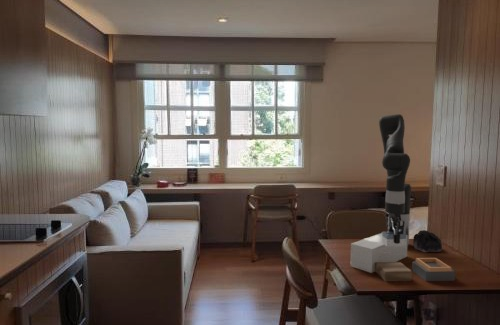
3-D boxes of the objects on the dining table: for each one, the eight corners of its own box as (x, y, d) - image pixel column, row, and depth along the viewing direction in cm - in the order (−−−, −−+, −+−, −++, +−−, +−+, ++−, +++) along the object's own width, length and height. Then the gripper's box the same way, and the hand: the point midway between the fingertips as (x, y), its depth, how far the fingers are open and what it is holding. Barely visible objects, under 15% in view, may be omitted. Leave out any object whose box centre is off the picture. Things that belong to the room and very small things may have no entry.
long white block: (371, 273, 161) (372, 249, 160) (350, 266, 169) (350, 243, 168) (407, 257, 182) (407, 235, 181) (386, 251, 190) (387, 231, 189)
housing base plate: (382, 242, 158) (382, 235, 158) (400, 242, 159) (400, 235, 158) (386, 246, 153) (387, 239, 153) (406, 246, 154) (406, 239, 153)
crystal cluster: (444, 256, 185) (446, 236, 184) (414, 251, 189) (416, 231, 188) (439, 250, 197) (441, 231, 197) (411, 245, 202) (413, 227, 201)
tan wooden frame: (412, 270, 163) (412, 258, 163) (438, 269, 164) (439, 257, 163) (425, 281, 151) (426, 268, 151) (454, 280, 152) (455, 267, 151)
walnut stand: (375, 271, 162) (375, 262, 162) (400, 270, 163) (400, 262, 162) (385, 281, 151) (385, 271, 151) (411, 280, 152) (412, 271, 151)
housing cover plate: (382, 235, 158) (382, 231, 158) (400, 235, 158) (401, 230, 158) (387, 239, 153) (387, 234, 153) (406, 239, 153) (406, 234, 153)
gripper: (379, 198, 161) (378, 236, 163) (393, 204, 147) (392, 246, 149) (396, 198, 162) (395, 236, 163) (412, 204, 147) (410, 246, 149)
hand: (394, 241), depth 156 cm, fingers closed on housing base plate, housing cover plate, 5 cm apart
